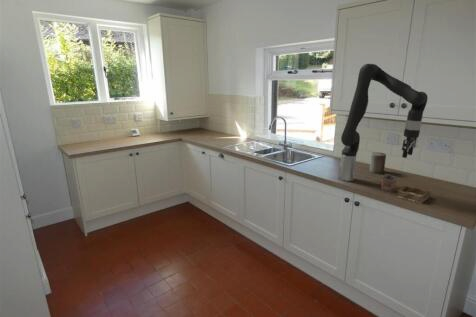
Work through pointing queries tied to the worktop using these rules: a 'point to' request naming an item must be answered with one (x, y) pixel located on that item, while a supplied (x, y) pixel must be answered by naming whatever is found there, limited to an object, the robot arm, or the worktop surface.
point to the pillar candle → (377, 162)
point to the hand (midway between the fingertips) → (407, 156)
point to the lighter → (388, 183)
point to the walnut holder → (413, 194)
